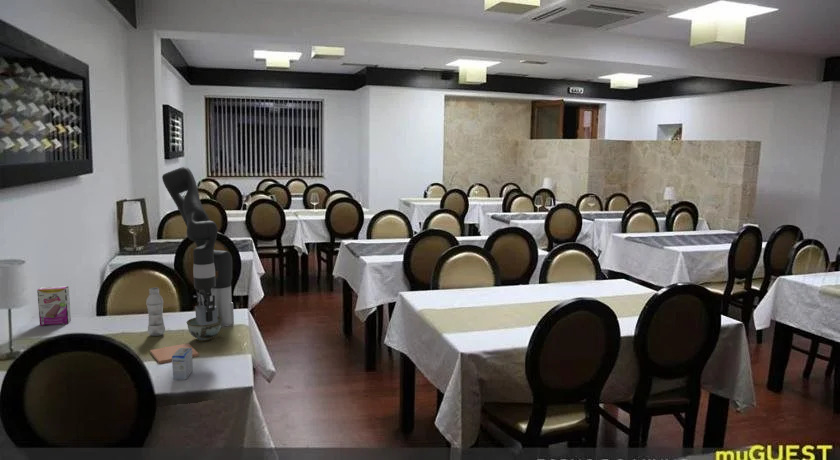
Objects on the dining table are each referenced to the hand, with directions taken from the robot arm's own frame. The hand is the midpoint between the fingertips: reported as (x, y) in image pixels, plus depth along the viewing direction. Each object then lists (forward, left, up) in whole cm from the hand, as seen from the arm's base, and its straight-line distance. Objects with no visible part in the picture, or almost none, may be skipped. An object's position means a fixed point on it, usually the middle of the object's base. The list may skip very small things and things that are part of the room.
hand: (206, 318), depth 216 cm
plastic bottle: (+9, -38, -15) cm, 42 cm away
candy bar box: (+41, -80, -15) cm, 91 cm away
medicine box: (+12, +12, -15) cm, 23 cm away
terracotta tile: (+9, -11, -15) cm, 21 cm away
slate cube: (0, 0, -1) cm, 1 cm away
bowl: (-6, -22, -15) cm, 27 cm away
